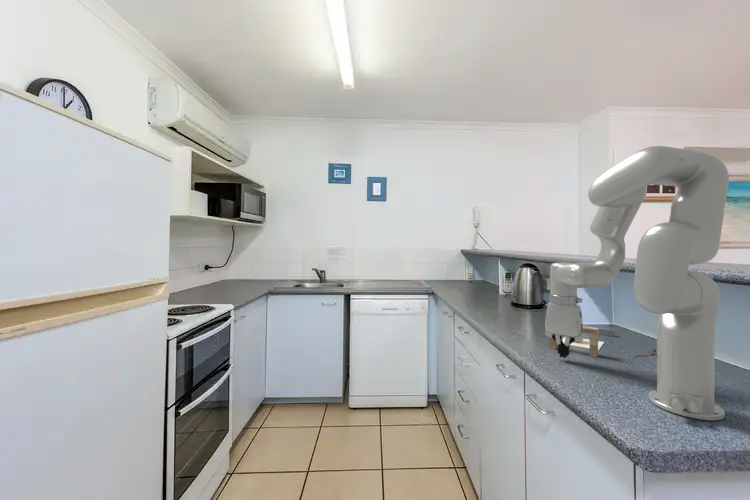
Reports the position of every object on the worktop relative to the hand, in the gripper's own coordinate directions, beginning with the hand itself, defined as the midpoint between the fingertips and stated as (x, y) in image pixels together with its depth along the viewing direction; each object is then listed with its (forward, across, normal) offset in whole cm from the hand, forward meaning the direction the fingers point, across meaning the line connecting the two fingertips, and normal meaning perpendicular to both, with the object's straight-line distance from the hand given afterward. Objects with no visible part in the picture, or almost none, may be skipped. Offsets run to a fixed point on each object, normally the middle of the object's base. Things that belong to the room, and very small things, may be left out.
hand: (563, 356), depth 104 cm
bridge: (+2, 0, -13) cm, 13 cm away
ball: (-1, +2, -27) cm, 27 cm away
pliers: (+2, -20, -25) cm, 32 cm away
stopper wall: (+2, 0, -47) cm, 47 cm away
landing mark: (+2, 0, -27) cm, 27 cm away
